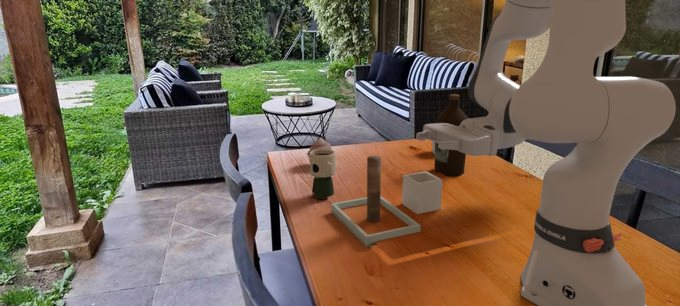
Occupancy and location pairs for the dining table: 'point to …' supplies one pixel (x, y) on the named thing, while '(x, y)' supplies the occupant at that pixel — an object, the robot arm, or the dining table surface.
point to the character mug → (322, 172)
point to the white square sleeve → (422, 192)
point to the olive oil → (448, 159)
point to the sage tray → (371, 238)
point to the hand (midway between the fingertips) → (428, 141)
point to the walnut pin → (373, 188)
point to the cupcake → (319, 145)
